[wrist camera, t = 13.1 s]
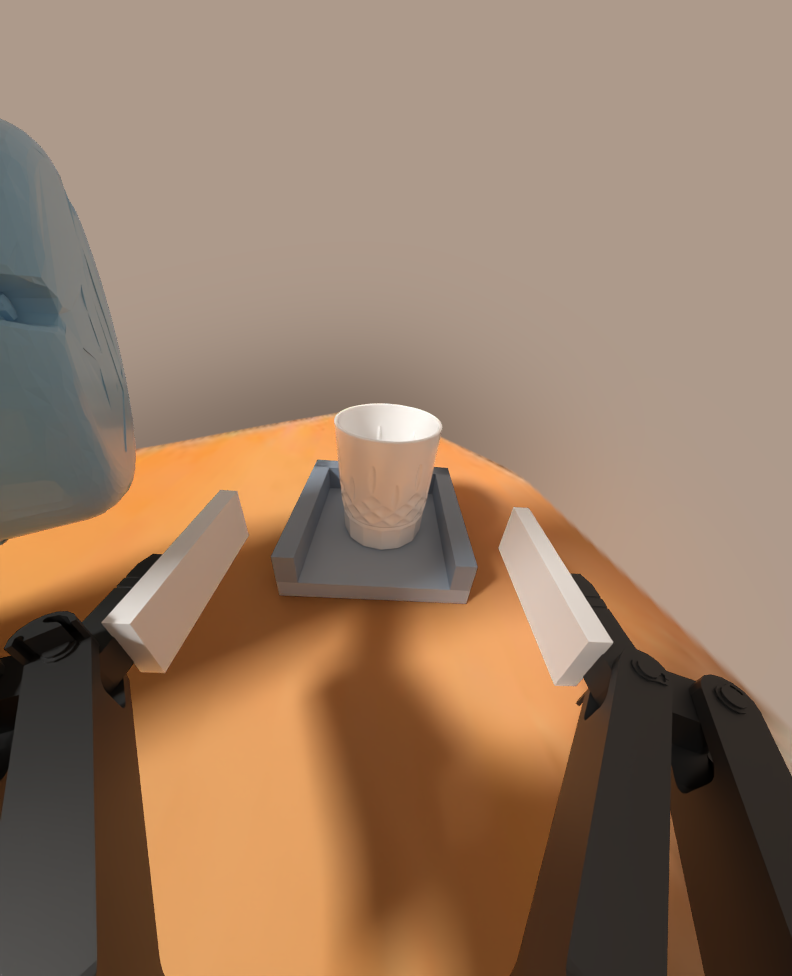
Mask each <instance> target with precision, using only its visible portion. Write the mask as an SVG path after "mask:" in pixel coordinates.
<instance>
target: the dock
mask: <svg viewBox="0 0 792 976" xmlns="http://www.w3.org/2000/svg"><path fill="white" fill-rule="evenodd" d="M271 561H272V565H273V570H274V574H275V579H276V583H277V587H278V592H279V595H284V596H306V597H328V598H350V599H372V600H394V601H416V602H438V603H460V604H466V602H467V599H468V596H469V593H470V590H471V587H472V584H473V580H474V577H475V574H476V571H477V568H478V567H477V563H476V560H475V557H474V553H473V550H472V547H471V544H470V540H469V537H468V534H467V530H466V527H465V524H464V520H463V517H462V514H461V510H460V507H459V504H458V501H457V497H456V494H455V491H454V487H453V484H452V481H451V477H450V474H449V471H448V468H440V467H434V470H433V475H432V479H431V484H430V488H429V491H428V496H427V501H426V504H425V507H424V510H423V514H422V519H421V524H420V529H419V531H418V533H417V534H416V536H415V537H414V539H413V540H412V541H411V542H409V543H407V544H405V545H403V546H401V547H399V548H394V549H384V550H379V549H375V548H370V547H366V546H363V545H361V544H360V543H358V542H357V541H356V540H354V539H353V538H351V537H350V535H349V532H348V530H347V528H346V526H345V516H344V506H343V501H342V495H341V484H340V478H339V467H338V461H329V460H317V462H316V464H315V466H314V468H313V470H312V472H311V474H310V476H309V479H308V481H307V483H306V485H305V487H304V489H303V491H302V493H301V495H300V497H299V499H298V501H297V503H296V505H295V508H294V510H293V512H292V514H291V516H290V518H289V520H288V522H287V524H286V526H285V528H284V530H283V532H282V534H281V537H280V539H279V541H278V543H277V545H276V547H275V549H274V551H273V553H272V555H271Z"/></svg>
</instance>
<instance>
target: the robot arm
mask: <svg viewBox="0 0 792 976" xmlns="http://www.w3.org/2000/svg"><path fill="white" fill-rule="evenodd" d="M135 460H136V453H135V435H134V426H133V418H132V412H131V406H130V401H129V394H128V388H127V383H126V377H125V373H124V368H123V364H122V359H121V355H120V350H119V346H118V342H117V338H116V334H115V330H114V326H113V322H112V318H111V315H110V311H109V307H108V304H107V301H106V297H105V294H104V290H103V287H102V283H101V280H100V277H99V274H98V271H97V268H96V264H95V261H94V258H93V255H92V253H91V250H90V247H89V244H88V241H87V238H86V235H85V233H84V230H83V227H82V225H81V222H80V220H79V218H78V215H77V213H76V211H75V209H74V207H73V206H72V204H71V202H69V199H68V197H67V195H66V192H65V189H64V187H63V184H62V181H61V177H60V175H59V174H58V172H57V170H56V168H55V166H54V165H53V163H52V161H51V160H50V158H49V157H48V155H47V154H46V153H45V151H44V150H43V149H42V148H41V146H40V145H39V144H37V142H35V140H33V139H32V138H31V137H30V136H29V135H27V134H26V133H25V132H24V131H22V130H21V129H19V128H18V127H16V126H14V125H13V124H11V123H9V122H7V121H4V120H2V119H0V545H2V544H4V543H5V542H7V540H8V539H11V538H15V537H19V536H23V535H27V534H31V533H35V532H39V531H43V530H47V529H51V528H55V527H59V526H63V525H67V524H71V523H75V522H80V521H84V520H88V519H90V518H93V517H96V516H98V515H101V514H103V513H105V512H106V511H107V510H109V509H110V508H111V507H113V506H114V505H116V504H117V503H118V502H119V501H120V500H121V498H122V497H123V496H124V494H125V493H126V492H127V491H128V490H129V488H130V486H131V483H132V481H133V477H134V471H135ZM248 536H249V534H248V530H247V526H246V523H245V519H244V515H243V511H242V507H241V504H240V500H239V496H238V492H237V491H228V490H220V491H219V492H218V493H217V494H216V495H215V497H214V498H213V499H212V500H211V501H210V502H209V503H208V504H207V505H206V507H205V508H204V509H203V510H202V511H201V512H200V513H199V514H198V515H197V517H196V518H195V519H194V520H193V521H192V522H191V523H190V524H189V525H188V527H187V528H186V529H185V530H184V531H183V532H182V533H181V534H180V536H179V537H178V538H177V539H176V540H175V541H174V542H173V543H172V544H171V546H170V547H169V548H168V549H167V550H166V551H165V552H164V553H163V554H152V555H151V556H149V557H148V558H146V559H145V560H143V561H142V562H140V563H138V564H137V565H136V566H135V567H134V568H133V569H132V571H131V572H130V573H129V574H128V575H127V577H126V578H124V579H123V580H122V581H121V582H120V583H119V584H118V585H117V588H114V589H113V590H112V591H111V592H110V593H109V595H108V596H107V597H106V598H105V599H104V600H103V601H102V602H101V603H100V604H99V605H98V606H97V607H96V608H95V609H94V610H93V611H92V612H91V613H90V614H89V615H88V616H87V617H86V619H85V620H84V621H83V622H81V621H80V620H79V619H78V618H77V617H76V616H75V614H73V613H71V612H68V611H62V612H54V613H51V614H47V615H44V616H42V617H40V618H38V619H35V620H33V621H31V622H29V623H28V624H27V625H25V626H24V627H22V628H21V629H19V630H18V631H17V632H16V633H15V634H14V635H13V636H12V637H11V638H10V639H9V640H8V642H7V643H6V645H5V647H4V650H5V651H7V652H8V653H9V654H10V655H11V656H7V657H3V658H0V976H165V975H164V973H163V971H162V967H161V963H160V957H159V949H158V940H157V931H156V922H155V913H154V904H153V894H152V885H151V876H150V867H149V858H148V849H147V839H146V830H145V821H144V812H143V803H142V794H141V785H140V775H139V766H138V757H137V748H136V739H135V730H134V721H133V711H132V702H131V693H130V684H129V679H128V676H127V674H126V673H127V672H128V670H129V669H130V667H131V666H132V665H133V663H134V664H135V665H136V667H137V668H138V669H139V670H140V672H151V673H165V672H166V671H167V669H168V667H169V666H170V664H171V662H172V661H173V659H174V657H175V656H176V654H177V652H178V651H179V649H180V648H181V646H182V644H183V643H184V641H185V639H186V638H187V636H188V634H189V633H190V631H191V629H192V628H193V626H194V625H195V623H196V621H197V620H198V618H199V616H200V615H201V613H202V611H203V610H204V608H205V606H206V605H207V603H208V602H209V600H210V598H211V597H212V595H213V593H214V592H215V590H216V588H217V587H218V585H219V584H220V582H221V580H222V579H223V577H224V575H225V574H226V572H227V570H228V569H229V567H230V565H231V564H232V562H233V561H234V559H235V557H236V556H237V554H238V552H239V551H240V549H241V547H242V546H243V544H244V542H245V541H246V539H247V538H248ZM498 549H499V551H500V554H501V556H502V558H503V561H504V563H505V566H506V568H507V571H508V573H509V576H510V578H511V580H512V583H513V585H514V588H515V590H516V593H517V595H518V598H519V600H520V602H521V605H522V607H523V610H524V612H525V615H526V617H527V620H528V622H529V624H530V627H531V629H532V632H533V634H534V637H535V639H536V642H537V644H538V646H539V649H540V651H541V654H542V656H543V659H544V661H545V664H546V666H547V668H548V671H549V673H550V676H551V678H552V681H553V683H554V685H555V686H576V685H577V684H578V683H579V682H580V681H581V680H582V679H583V678H584V680H585V682H586V684H587V686H588V688H589V689H588V690H587V691H586V692H585V693H584V694H583V695H582V696H581V697H580V698H579V700H578V701H577V703H576V704H577V705H579V706H580V705H581V704H582V703H583V704H582V708H581V712H580V716H579V720H578V724H577V728H576V732H575V736H574V740H573V743H572V747H571V751H570V755H569V759H568V763H567V767H566V771H565V775H564V779H563V783H562V787H561V791H560V795H559V799H558V802H557V806H556V810H555V814H554V818H553V822H552V826H551V830H550V834H549V838H548V842H547V846H546V850H545V854H544V857H543V861H542V865H541V869H540V873H539V877H538V881H537V885H536V889H535V893H534V897H533V901H532V905H531V909H530V912H529V916H528V920H527V924H526V928H525V932H524V936H523V940H522V944H521V948H520V952H519V955H518V959H517V962H516V964H515V967H514V969H513V971H512V973H511V974H510V976H667V946H668V897H669V847H670V811H671V815H672V820H673V825H674V830H675V834H676V839H677V844H678V849H679V854H680V858H681V863H682V868H683V873H684V878H685V882H686V887H687V892H688V897H689V901H690V906H691V911H692V916H693V921H694V925H695V930H696V935H697V940H698V944H699V949H700V954H701V959H702V964H703V968H704V973H705V976H792V776H791V774H790V772H789V770H788V768H787V766H786V764H785V762H784V759H783V757H782V755H781V753H780V751H779V749H778V747H777V745H776V743H775V741H774V739H773V737H772V735H771V733H770V731H769V729H768V726H767V724H766V722H765V720H764V718H763V716H762V714H761V712H760V711H759V709H758V708H757V706H756V705H755V703H754V702H753V701H752V700H751V699H750V698H749V697H748V696H747V694H746V693H745V692H743V691H742V690H741V689H739V688H738V687H737V686H735V685H734V684H733V683H731V682H729V681H727V680H725V679H723V678H722V677H718V676H715V675H704V676H703V677H701V678H700V679H699V680H697V681H694V680H691V679H688V678H685V677H682V676H679V675H676V674H673V673H671V672H668V671H666V670H665V669H664V668H663V667H662V666H661V665H660V664H659V662H658V661H656V660H655V659H654V658H652V657H651V656H649V655H648V654H646V653H644V652H641V651H639V650H637V649H636V648H635V647H634V645H633V644H632V642H631V641H630V640H629V638H628V637H627V635H626V634H625V632H624V631H623V629H622V628H621V626H620V625H619V623H618V622H617V620H616V619H615V618H614V616H613V615H612V613H611V612H610V610H609V609H607V606H606V604H605V603H604V601H603V600H602V599H600V596H599V594H598V593H597V591H596V590H595V588H594V587H593V585H592V584H591V583H590V582H588V581H587V580H586V579H585V578H584V577H583V576H582V575H581V574H570V573H569V571H568V570H567V568H566V566H565V565H564V563H563V562H562V560H561V558H560V557H559V555H558V554H557V552H556V551H555V549H554V547H553V546H552V544H551V543H550V541H549V539H548V538H547V536H546V535H545V533H544V531H543V530H542V528H541V527H540V525H539V524H538V522H537V520H536V519H535V517H534V516H533V514H532V512H531V511H530V509H529V508H519V507H513V509H512V512H511V515H510V518H509V520H508V523H507V526H506V529H505V531H504V534H503V537H502V540H501V542H500V545H499V548H498Z"/></svg>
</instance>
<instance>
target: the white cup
mask: <svg viewBox="0 0 792 976" xmlns="http://www.w3.org/2000/svg"><path fill="white" fill-rule="evenodd" d="M334 423H335V434H336V444H337V455H338V467H339V478H340V484H341V495H342V501H343V506H344V516H345V526H346V528H347V530H348V532H349V535H350V537H351V538H353V539H354V540H356V541H357V542H358V543H360V544H361V545H363V546H366V547H370V548H375V549H379V550H384V549H394V548H399V547H401V546H403V545H405V544H407V543H409V542H411V541H412V540H413V539H414V537H415V536H416V534H417V533H418V531H419V529H420V524H421V519H422V514H423V510H424V507H425V504H426V501H427V496H428V491H429V488H430V484H431V479H432V475H433V470H434V465H435V460H436V455H437V451H438V446H439V441H440V437H441V432H442V423H441V422H440V420H439V419H438V418H436V417H435V416H433V415H432V414H430V413H428V412H425V411H423V410H420V409H417V408H413V407H408V406H402V405H395V404H364V405H358V406H354V407H350V408H347V409H344V410H342V411H341V412H339V413H338V414H337V415H336V416H335V419H334Z"/></svg>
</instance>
